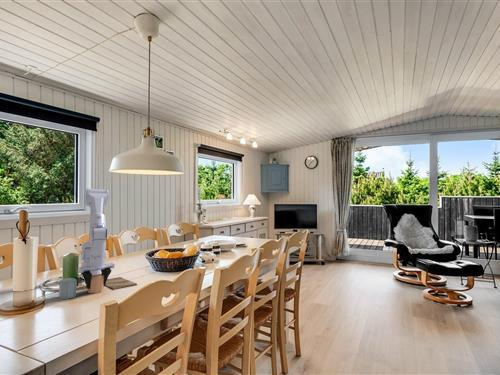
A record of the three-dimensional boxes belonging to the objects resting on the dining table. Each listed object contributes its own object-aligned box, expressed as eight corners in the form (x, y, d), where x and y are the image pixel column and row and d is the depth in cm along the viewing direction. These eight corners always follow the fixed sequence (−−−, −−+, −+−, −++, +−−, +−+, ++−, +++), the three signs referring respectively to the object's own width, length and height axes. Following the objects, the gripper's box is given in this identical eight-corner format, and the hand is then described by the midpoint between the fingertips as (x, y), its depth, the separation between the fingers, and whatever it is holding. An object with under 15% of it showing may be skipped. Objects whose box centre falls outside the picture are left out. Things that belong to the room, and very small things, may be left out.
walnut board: (97, 282, 147) (97, 280, 147) (120, 278, 156) (120, 276, 156) (113, 289, 137) (113, 288, 137) (137, 285, 145) (137, 283, 145)
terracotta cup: (86, 290, 134) (86, 275, 134) (99, 288, 138) (100, 273, 138) (91, 293, 130) (92, 277, 130) (105, 291, 134) (106, 275, 134)
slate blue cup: (57, 296, 125) (58, 279, 126) (72, 293, 130) (73, 277, 130) (62, 299, 122) (63, 282, 122) (77, 296, 126) (78, 280, 126)
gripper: (83, 258, 126) (81, 292, 126) (118, 254, 137) (116, 286, 137) (76, 256, 131) (74, 288, 131) (111, 252, 142) (109, 282, 142)
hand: (95, 287), depth 134 cm, fingers closed on terracotta cup, 6 cm apart
